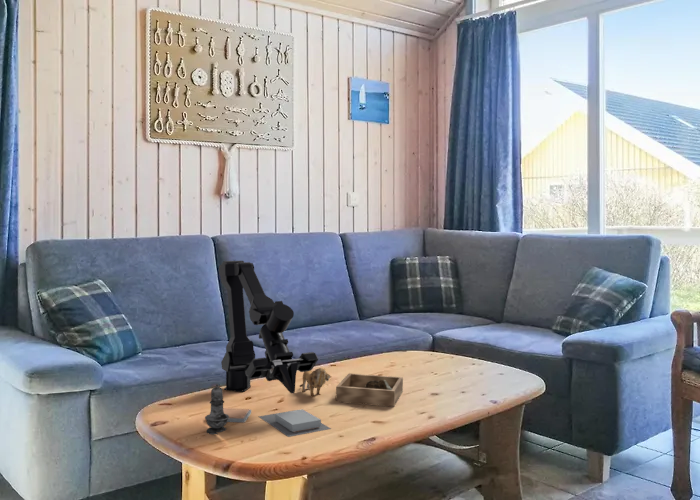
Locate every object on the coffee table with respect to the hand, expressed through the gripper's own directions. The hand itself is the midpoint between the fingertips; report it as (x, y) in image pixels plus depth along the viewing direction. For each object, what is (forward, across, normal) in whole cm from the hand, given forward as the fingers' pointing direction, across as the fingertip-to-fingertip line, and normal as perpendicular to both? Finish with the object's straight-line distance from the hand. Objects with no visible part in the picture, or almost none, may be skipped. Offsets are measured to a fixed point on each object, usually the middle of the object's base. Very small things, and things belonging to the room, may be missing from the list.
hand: (292, 392), depth 172 cm
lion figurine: (-9, -18, -21) cm, 29 cm away
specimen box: (-2, -31, -13) cm, 34 cm away
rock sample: (-1, -35, -13) cm, 37 cm away
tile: (+3, 0, -6) cm, 7 cm away
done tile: (-2, +13, -14) cm, 19 cm away
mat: (+6, 0, -5) cm, 8 cm away
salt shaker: (+3, +19, -9) cm, 21 cm away
